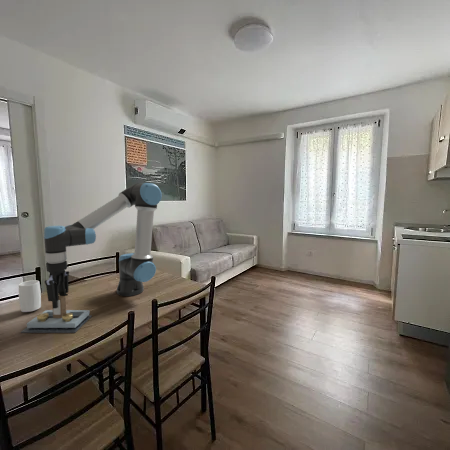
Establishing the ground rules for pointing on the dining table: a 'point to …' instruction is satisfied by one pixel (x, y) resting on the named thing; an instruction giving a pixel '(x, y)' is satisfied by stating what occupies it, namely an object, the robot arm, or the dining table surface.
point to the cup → (29, 295)
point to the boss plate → (66, 318)
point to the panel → (59, 318)
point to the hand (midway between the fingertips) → (59, 312)
